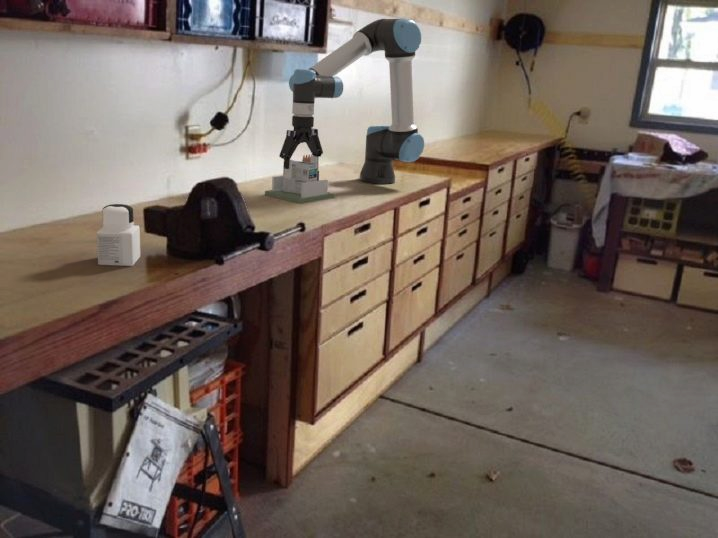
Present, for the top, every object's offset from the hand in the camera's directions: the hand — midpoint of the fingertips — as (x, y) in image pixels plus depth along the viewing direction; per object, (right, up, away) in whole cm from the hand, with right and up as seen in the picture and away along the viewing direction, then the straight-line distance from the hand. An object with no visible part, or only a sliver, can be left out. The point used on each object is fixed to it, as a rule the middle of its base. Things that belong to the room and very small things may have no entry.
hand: (301, 176), depth 240 cm
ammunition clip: (+1, 0, +26) cm, 26 cm away
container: (-35, -31, -85) cm, 97 cm away
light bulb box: (-1, -6, +1) cm, 6 cm away
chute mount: (-1, -7, +2) cm, 7 cm away
